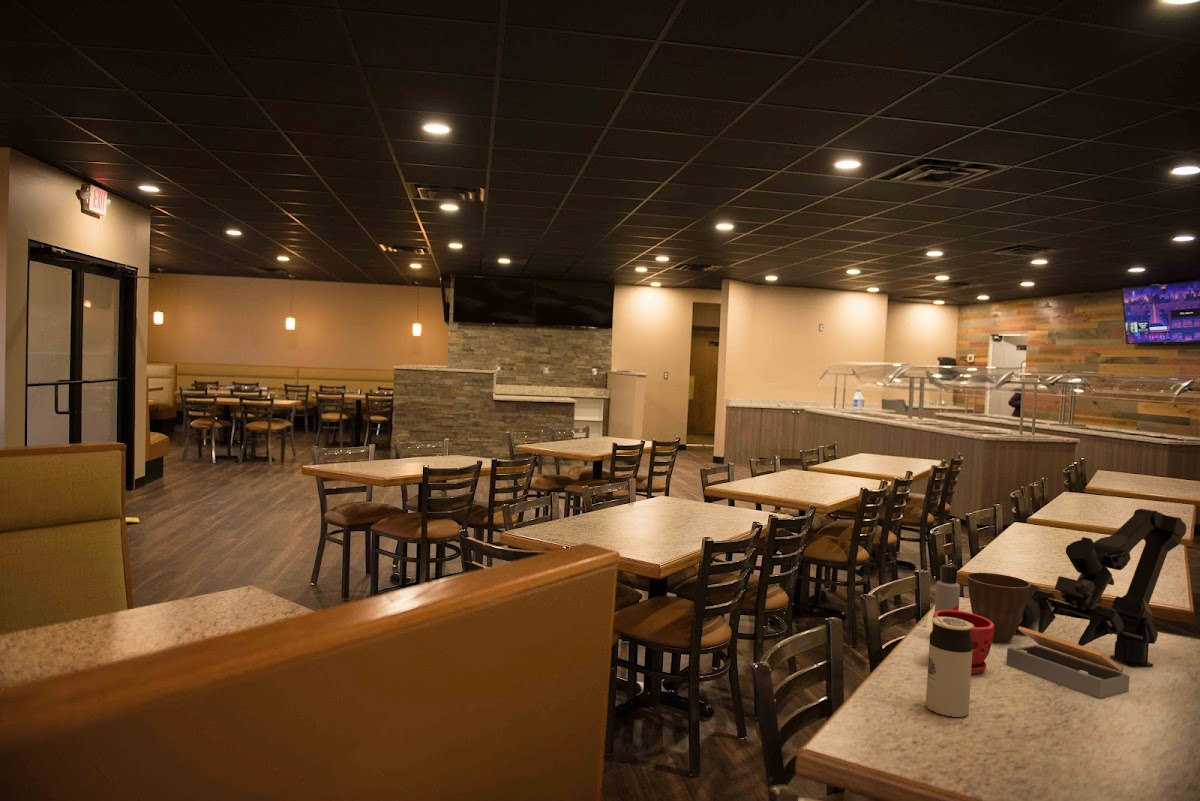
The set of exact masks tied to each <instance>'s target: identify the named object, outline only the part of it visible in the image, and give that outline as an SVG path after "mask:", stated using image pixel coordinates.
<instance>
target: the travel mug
mask: <svg viewBox="0 0 1200 801" xmlns="http://www.w3.org/2000/svg"><path fill="white" fill-rule="evenodd" d="M931 622H932V625H933V624H934V629H933V628H932V629H933V631H931V632H930V633H929V643H928V644H929V645H928V658H927V677H926V695H925V706H926V708H927V709H929V710H930V711H932V712H933V711H934V712H933V713H935V712H936V713H935V714H938V713H939V714H938V715H940V714H942V715H941V716H944V715H946V716H945V717H948V716H952V717H951V718H963V717H966V716H968V715H969V714H970V696H971V683H972V682H971V681H972V674H971V667H972V650H973V640H972V638H971V636H970V630H971V629H972V627H974V625H973V624H972V623H969V622H967V621H964V620H961V619H957V618H952V617H935V618H933V617H932V620H931Z"/></svg>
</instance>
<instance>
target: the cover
mask: <svg viewBox="0 0 1200 801" xmlns="http://www.w3.org/2000/svg"><path fill="white" fill-rule="evenodd" d="M1018 630H1020V631H1021V632H1020V633H1023V634H1024V635H1026V637H1028V638H1029V639H1031V640H1032V641H1033V642H1035V643H1036V644H1037V645H1038V646H1041V647H1044V648H1047V649H1050V650H1053V651H1056V652H1059V653H1062V654H1065V655H1068V656H1071V657H1074V658H1077V659H1080V660H1083V661H1086V662H1090V663H1093V664H1096V665H1099V666H1102V667H1105V668H1108V669H1111V670H1114V671H1117V672H1120V673H1123V672H1124V668H1123V667H1121V666H1120V665H1119V664H1118V663H1116V662H1115V661H1114V660H1112V658H1110V656H1107V655H1106V654H1105V653H1103V652H1102V651H1098V650H1096V649H1093V648H1090V647H1087V646H1085V645H1084V646H1081V645H1078V643H1077V644H1076V643H1074V642H1070V641H1067V640H1065V639H1061V638H1057V637H1055V636H1052V635H1048V634H1046V633H1044V632H1043V633H1039V632H1038V631H1036V630H1032V629H1030V628H1028V629H1027V628H1024V627H1020V626H1019V628H1018Z"/></svg>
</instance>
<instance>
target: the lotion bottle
mask: <svg viewBox="0 0 1200 801" xmlns="http://www.w3.org/2000/svg"><path fill="white" fill-rule="evenodd" d="M957 576H958V567H957V566H956V564H952V563H944V564H942V565H941V566H940V580H937V581H936V584H935V597H934V598H935V599H934V600H935V601H934V612H936V611H939V610H956V611H960V610H959V608H960V594H961V593H960V592H961V585H960V583H958V582H957Z"/></svg>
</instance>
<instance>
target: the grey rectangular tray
mask: <svg viewBox="0 0 1200 801" xmlns="http://www.w3.org/2000/svg"><path fill="white" fill-rule="evenodd" d="M1005 664H1006V666H1008V667H1011V668H1014V669H1018V670H1020V671H1023V672H1026V673H1029V674H1030V675H1033V676H1036V677H1039V678H1042V679H1043V680H1047V681H1050V682H1053V683H1054V684H1058V685H1061V686H1064V687H1067V688H1069V689H1072V690H1075V691H1077V692H1080V693H1082V694H1085V695H1088V694H1089V695H1088V696H1090V695H1091V696H1090V697H1093V696H1094V697H1093V698H1096V697H1097V699H1099V698H1101V699H1104V698H1103V697H1105V698H1107V696H1109V697H1112V695H1113V696H1115V695H1116V694H1117V695H1120V694H1124V693H1128V692H1129V691H1130V678H1131V676H1130V675H1128V674H1125V673H1123V672H1119V671H1116V670H1113V669H1110V668H1107V667H1104V666H1101V665H1098V664H1095V663H1092V662H1089V661H1086V660H1083V659H1080V658H1077V657H1074V656H1071V655H1068V654H1065V653H1062V652H1059V651H1056V650H1053V649H1050V648H1047V647H1044V646H1041V645H1039V644H1032V645H1028V646H1022V647H1018V648H1016V647H1015V648H1014V647H1007V648H1006V663H1005Z"/></svg>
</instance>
